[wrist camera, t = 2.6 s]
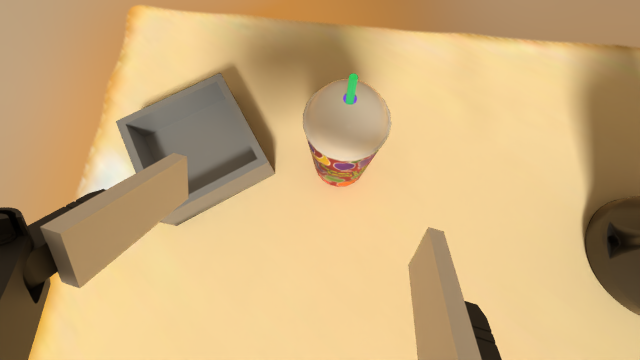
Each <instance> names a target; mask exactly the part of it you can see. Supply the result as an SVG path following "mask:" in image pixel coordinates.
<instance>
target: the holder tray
mask: <svg viewBox="0 0 640 360" xmlns="http://www.w3.org/2000/svg"><path fill="white" fill-rule="evenodd" d="M116 123H117V126H118V128H119V131H120V133H121V136H122V138H123V141H124V144H125V146H126V149H127V151H128V154H129V156H130V159H131V162H132V164H133V167H134V169H135V172H136V173H138V172H140V171H142V170H144V169H145V168H147V167H149V166H151V165H153V164H154V163H156V162H158V161H160V160H162V159H163V158H165V157H167V156H169V155H171V154H172V153H177V154H180V155H183V156H187V172H188V195H189V198H188V199H187V200H186V201H185V202H183V203H182V204H181V205H180V206H179V207H177V208H176V209H175V210H174V211H173V212H171V213H170V214H169V215H168V216H166V217H165V218H164V219H163V220H162V221H160V222H162V223H166V224H171V225H175V226H177V225H179V224H181V223H183V222H185V221H187V220H188V219H190V218H192V217H194V216H196V215H198V214H200V213H202V212H204V211H206V210H207V209H209V208H211V207H213V206H215V205H217V204H219V203H221V202H223V201H224V200H226V199H228V198H230V197H232V196H234V195H236V194H238V193H240V192H241V191H243V190H245V189H247V188H249V187H251V186H253V185H255V184H257V183H258V182H260V181H262V180H264V179H266V178H268V177H270V176H272V175H274V174H275V172H274V170H273V169H272V167H271V165H270V163H269V161H268V159H267V158H266V156H265V154H264V152H263V150H262V148H261V146H260V145H259V143H258V141H257V139H256V137H255V135H254V133H253V132H252V130H251V128H250V126H249V124H248V122H247V121H246V119H245V117H244V115H243V113H242V111H241V109H240V108H239V106H238V104H237V102H236V100H235V98H234V96H233V95H232V93H231V91H230V89H229V87H228V86H227V84H226V82H225V80H224V79H223V77H222V75H221V73H219V74H217V75H214V76H212V77H210V78H208V79H206V80H204V81H202V82H199V83H197V84H195V85H193V86H191V87H189V88H187V89H184V90H182V91H180V92H178V93H176V94H174V95H171V96H169V97H167V98H165V99H163V100H161V101H159V102H156V103H154V104H152V105H150V106H148V107H146V108H144V109H141V110H139V111H137V112H135V113H133V114H131V115H129V116H126V117H124V118H122V119H120V120H118V121H116Z"/></svg>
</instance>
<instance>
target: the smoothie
mask: <svg viewBox="0 0 640 360" xmlns="http://www.w3.org/2000/svg"><path fill="white" fill-rule="evenodd" d="M303 128H304V131H305V134H306V137H307V140H308V144H309V147H310V150H311V154H312V157H313V160H314V164H315V167H316V170H317V172H318V175H319V176H320V177H321V178H322V180H323V181H325V182H327V183H328V184H330V185H334V186H337V187H339V186H347V185H350V184H352V183H354V182H355V181H356V180H358V179H359V177H360V176H361V175H362V173H363V172H364V170H365V169H366V167H367V166H368V164H369V163H370V162H371V160H372V159H373V157H374V156H375V154H376V153H377V151H378V150H379V149H380V148H381V147H382V145H383V144H384V142H385V141H386V139H387V138H388V135H389V132H390V128H391V117H390V111H389V109H388V107H387V105H386V103H385V101H384V99H383V98H382V97H381V96H380V94H379V93H378V92H377V91H376V90H375V89H374V88H373V87H371V86H370V85H368V84H366V83H365V82H363V81H360V80H358V76H357V75H356V74H353V73H352V74H350V76H349V79H340V80H337V81H334V82H331V83H329V84H327V85H326V86H324V87H323V88H321V89H320V90H319V91H317V92H316V93H314V95H313V96H312V97H311V98H310V100H309V101H308V102H307V104H306V107H305V110H304V113H303Z"/></svg>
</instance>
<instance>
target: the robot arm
mask: <svg viewBox="0 0 640 360" xmlns="http://www.w3.org/2000/svg"><path fill="white" fill-rule="evenodd" d="M188 198H189V195H188V172H187V156H183V155H180V154H177V153H172V154H171V155H169V156H167V157H165V158H163V159H162V160H160V161H158V162H156V163H154V164H153V165H151V166H149V167H147V168H145V169H144V170H142V171H140V172H138V173H136V174H134V175H133V176H131V177H129V178H127V179H125V180H124V181H122V182H120V183H118V184H116V185H115V186H113V187H111V188H109V189H107V190H105V189H102V190H99V191H95V192H92V193H89V194H87V195H85V196H83V197H81V198H79V199H77V200H76V202H72V203H70V204H68V205H66V207H62V208H61V209H59V210H57V211H55V212H53V213H51V214H49V215H47V216H45V217H44V218H42V219H40V220H38V221H36V222H34V223H32V224H30V225H29V226H27V225H26V222H25V220H24V218H23V215H22V213H21V212H20V211H19V210H18V209H14V208H0V360H28V358H29V354H30V351H31V348H32V344H33V341H34V338H35V334H36V331H37V328H38V324H39V321H40V318H41V314H42V311H43V308H44V304H45V301H46V298H47V294H48V291H49V288H50V278H49V277H51V276H52V275H53V274H55V273H56V272H58V273H59V276H60V278H61V281H62V282H63V283H66V284H69V285H72V286H75V287H77V288H81V287H82V286H83V285H84V284H86V283H87V282H88V281H89V280H90V279H92V278H93V277H94V276H95V275H96V274H98V273H99V272H100V271H101V270H102V269H104V268H105V267H106V266H107V265H108V264H110V263H111V262H112V261H113V260H115V259H116V258H117V257H118V256H119V255H121V254H122V253H123V252H124V251H125V250H127V249H128V248H129V247H130V246H131V245H133V244H134V243H135V242H136V241H137V240H139V239H140V238H141V237H142V236H144V235H145V234H146V233H147V232H148V231H150V230H151V229H152V228H153V227H154V226H156V225H157V224H158V223H159V222H160V221H162V220H163V219H164V218H165V217H166V216H168V215H169V214H170V213H171V212H173V211H174V210H175V209H176V208H177V207H179V206H180V205H181V204H182V203H183V202H185V201H186V200H187V199H188ZM586 249H587V254H588V258H589V262H590V264H591V267H592V269H593V271H594V273H595V275H596V277H597V278H598V280H599V281H600V283H601V284H602V286H603V287H604V288H605V289H606V291H607V292H608V293H609V294H610V295H611V296H612V297H613V298H614V299H615V300H617V301H618V302H619V303H620V304H621V305H623V306H624V307H626V308H627V309H629V310H630V311H632V312H634V313H636V314H638V315H640V196H635V197H630V198H625V199H620V200H615V201H612V202H610V203H608V204H606V205H604V206H603V207H601V208H600V209H599V210H598V211H597V212H596V213H595V214H594V216H593V217H592V219H591V221H590V223H589V226H588V229H587V234H586ZM408 266H409V276H410V286H411V296H412V306H413V316H414V325H415V335H416V345H417V355H418V360H502V359H501V357H500V354H499V351H498V348H497V346H496V345H495V340H494V337H493V334H491V329H490V326H489V323H488V320H487V318H486V316H485V315H484V314H483V312H482V311H481V309H480V308H479V307H478V305H476V304H473V303H470V302H466V301H464V298H463V295H462V292H461V288H460V285H459V282H458V278H457V275H456V271H455V268H454V265H453V261H452V258H451V255H450V251H449V248H448V245H447V241H446V238H445V235H444V232H443V231H440V230H436V229H433V228H429V227H428V229H427V231H426V233H425V235H424V237H423V238H422V240H421V242H420V244H419V246H418V248H417V250H416V252H415V254H414V256H413V258H412V260H411V262H410V263H409V265H408Z"/></svg>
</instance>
